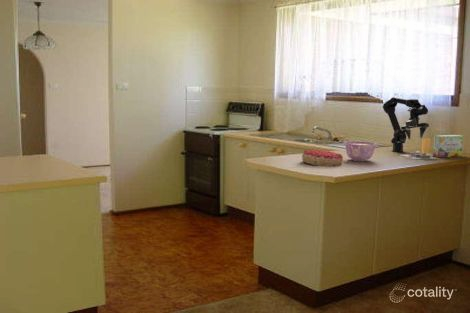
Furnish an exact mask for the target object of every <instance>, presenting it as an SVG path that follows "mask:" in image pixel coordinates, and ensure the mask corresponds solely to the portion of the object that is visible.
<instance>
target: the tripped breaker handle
mask: <svg viewBox="0 0 470 313" xmlns="http://www.w3.org/2000/svg"><path fill="white" fill-rule="evenodd" d="M421 139H422V140H421V151H420V154H430V148H431V146H430V144H431V139H430V138H421Z"/></svg>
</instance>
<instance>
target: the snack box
mask: <svg viewBox="0 0 470 313" xmlns="http://www.w3.org/2000/svg"><path fill="white" fill-rule="evenodd" d="M463 140H464V135H460V134H447V135H446V134H444V135H443V134H441V135H440V134H439V135H434V141H433V151H432V157H434V158H452V157H451V156H458V157H462V153H463V152H462V151H463V149H462V148H463Z"/></svg>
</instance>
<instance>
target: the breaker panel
mask: <svg viewBox="0 0 470 313" xmlns="http://www.w3.org/2000/svg"><path fill="white" fill-rule="evenodd" d="M400 156H401V157H405V158H407V159H411V160H414V161H415V160H438V158H439V157H434V156H433V154H432V155H431V153H429V154H421V151H420V150H415V151H413V152H412V151H411V152H409V154H400Z"/></svg>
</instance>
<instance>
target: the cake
mask: <svg viewBox="0 0 470 313" xmlns="http://www.w3.org/2000/svg"><path fill="white" fill-rule="evenodd" d="M343 159H344V156H343V155H342V154H340V153H338V152H334V151H330V150H323V149H317V148H316V149H314V148H313V149H309V150H304V151H303V153H302V155H301V160H302V162H304V163H305V164H308V165H311V164H312V166H315V165H317V166H322V165H324V166H325V167H331V166H333V165H336V166H337V165H338V166H341V165H340V164H343Z"/></svg>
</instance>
